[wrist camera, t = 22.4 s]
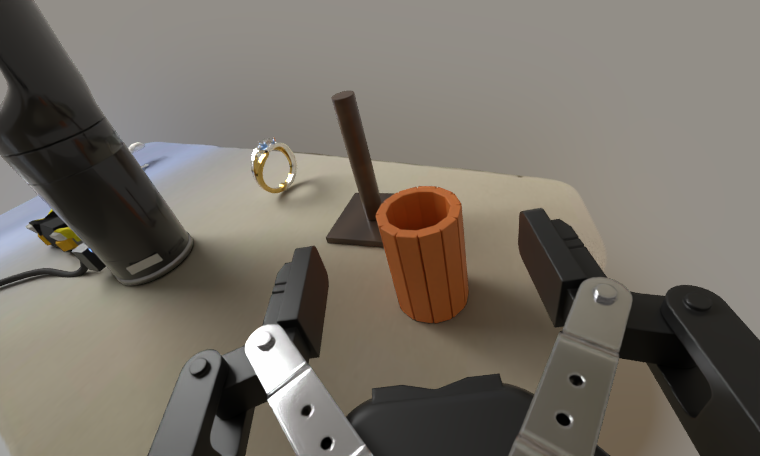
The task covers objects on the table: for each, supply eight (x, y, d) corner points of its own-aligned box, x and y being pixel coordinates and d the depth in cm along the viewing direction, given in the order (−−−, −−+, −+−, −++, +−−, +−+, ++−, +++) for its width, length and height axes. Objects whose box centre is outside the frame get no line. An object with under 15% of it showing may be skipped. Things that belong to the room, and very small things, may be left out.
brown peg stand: (327, 242, 41) (278, 118, 32) (356, 197, 47) (322, 82, 38) (401, 248, 37) (369, 111, 28) (422, 199, 44) (401, 73, 35)
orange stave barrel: (389, 316, 31) (364, 234, 25) (408, 266, 35) (391, 185, 29) (461, 328, 28) (451, 240, 23) (472, 272, 33) (467, 186, 27)
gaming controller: (97, 206, 63) (37, 243, 56) (74, 180, 59) (7, 215, 53) (144, 217, 56) (81, 260, 49) (121, 187, 52) (51, 230, 46)
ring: (295, 176, 56) (276, 128, 51) (309, 180, 54) (290, 130, 49) (260, 200, 52) (236, 151, 47) (273, 205, 50) (249, 154, 45)
